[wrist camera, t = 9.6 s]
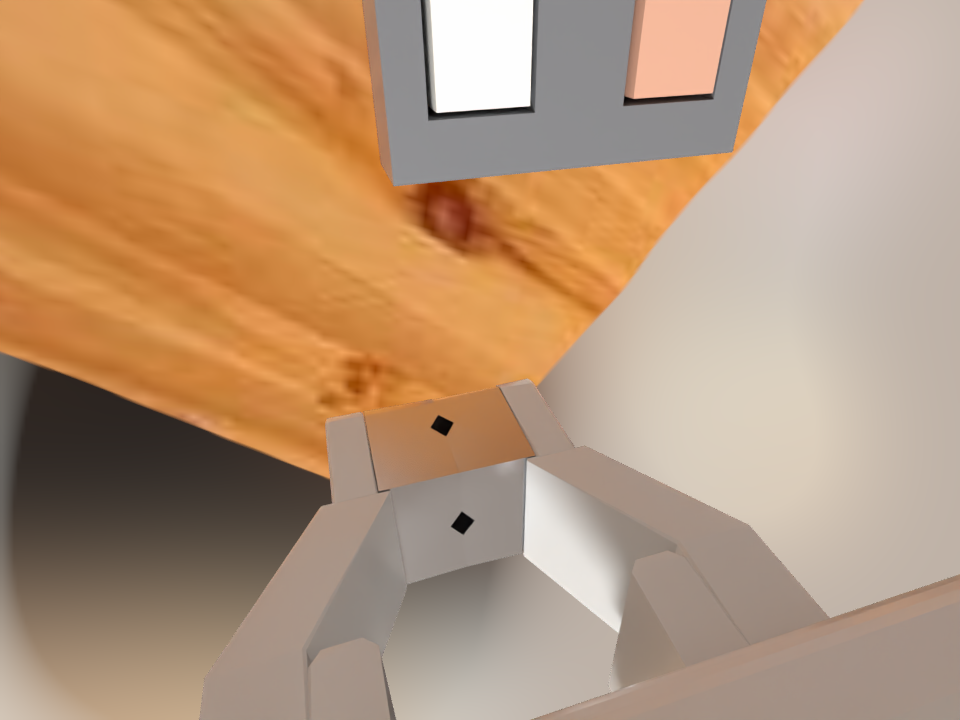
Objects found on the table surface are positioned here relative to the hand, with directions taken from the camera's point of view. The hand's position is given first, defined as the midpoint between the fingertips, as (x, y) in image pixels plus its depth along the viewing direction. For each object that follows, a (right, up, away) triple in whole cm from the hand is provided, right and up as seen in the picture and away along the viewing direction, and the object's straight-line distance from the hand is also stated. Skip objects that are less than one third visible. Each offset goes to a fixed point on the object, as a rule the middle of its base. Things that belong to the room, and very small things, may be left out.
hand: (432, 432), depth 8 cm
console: (+5, +20, +24) cm, 32 cm away
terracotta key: (+11, +19, +24) cm, 32 cm away
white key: (0, +18, +21) cm, 28 cm away
